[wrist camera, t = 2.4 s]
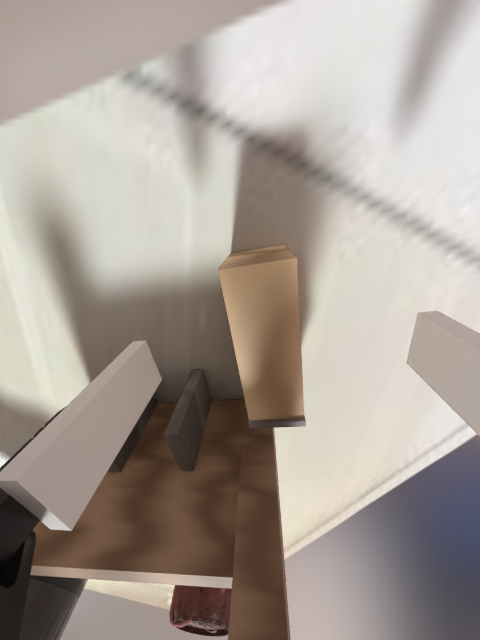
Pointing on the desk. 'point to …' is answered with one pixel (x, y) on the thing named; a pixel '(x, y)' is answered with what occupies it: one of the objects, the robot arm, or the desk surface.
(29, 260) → the desk surface
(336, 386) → the desk surface
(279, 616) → the wooden u-shaped stand
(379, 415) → the desk surface
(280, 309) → the tan rectangular block
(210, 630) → the can
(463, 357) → the robot arm
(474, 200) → the desk surface
